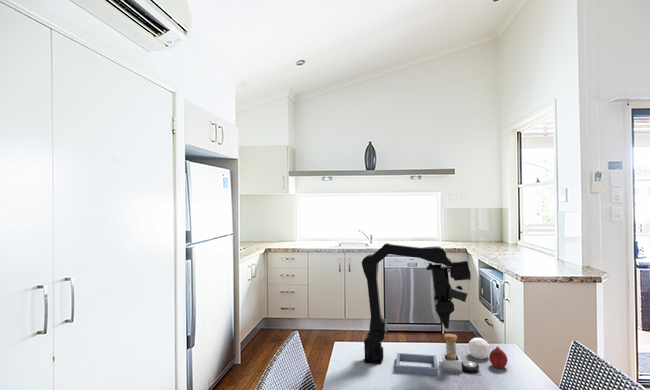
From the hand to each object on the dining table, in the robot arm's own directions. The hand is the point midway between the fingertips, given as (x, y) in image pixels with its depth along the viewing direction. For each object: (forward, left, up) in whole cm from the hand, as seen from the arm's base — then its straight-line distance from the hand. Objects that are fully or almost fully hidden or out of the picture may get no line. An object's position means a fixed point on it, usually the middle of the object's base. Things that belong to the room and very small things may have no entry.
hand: (446, 324), depth 133 cm
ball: (+12, +9, -15) cm, 21 cm away
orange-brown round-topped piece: (+1, -4, -14) cm, 14 cm away
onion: (+17, 0, -15) cm, 23 cm away
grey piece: (+4, -4, -15) cm, 16 cm away
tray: (-11, -5, -15) cm, 19 cm away
